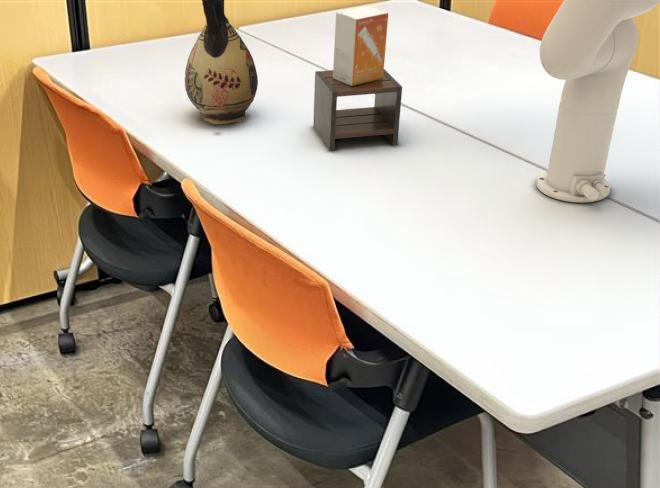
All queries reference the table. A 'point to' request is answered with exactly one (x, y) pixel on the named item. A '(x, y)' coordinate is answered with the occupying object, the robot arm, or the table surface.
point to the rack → (356, 109)
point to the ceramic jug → (220, 70)
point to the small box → (360, 45)
